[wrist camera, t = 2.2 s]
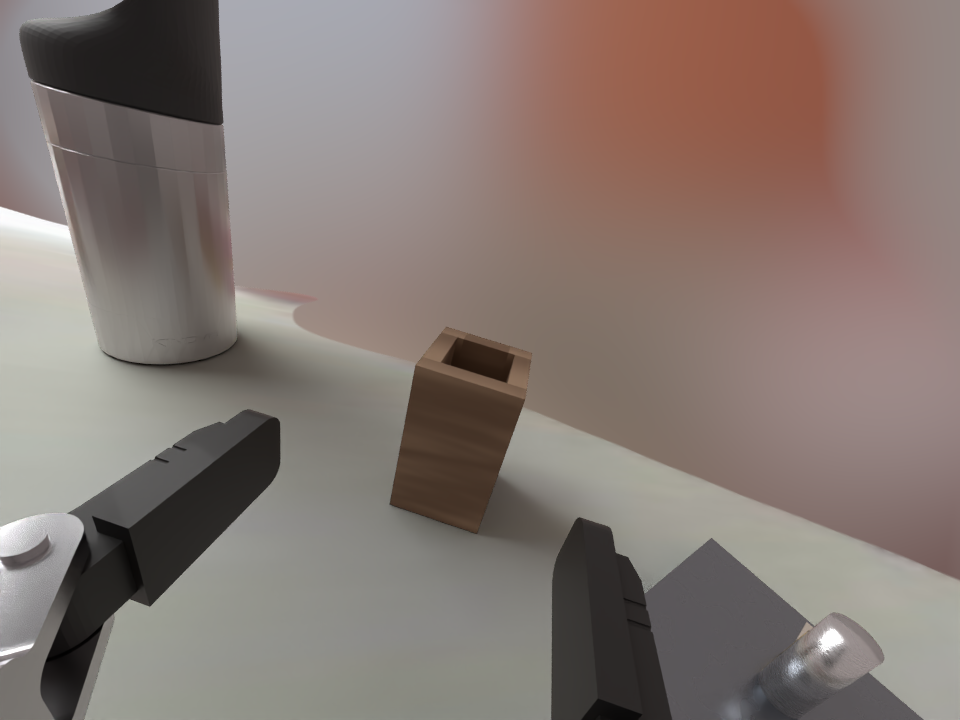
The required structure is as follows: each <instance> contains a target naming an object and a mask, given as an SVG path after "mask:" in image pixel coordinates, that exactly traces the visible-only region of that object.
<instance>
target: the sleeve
mask: <svg viewBox="0 0 960 720" xmlns="http://www.w3.org/2000/svg"><path fill="white" fill-rule="evenodd" d="M531 357H532V353H530V352H527V351H523V350H520V349H517V348H514V347H511V346H507V345H504V344H501V343H498V342H494V341H491V340H488V339H484V338H481V337H478V336H475V335H471V334H468V333H465V332H461V331H458V330H455V329H452V328H449V327H446V328H445V329H444V330H443V331H442V333H441V334H440V335H439V336H438V338H437V339H436V340H435V341H434V343H433V344H432V345H431V347H430V348H429V349H428V350H427V351H426V353H425V354H424V355H423V356H422V358H421V359H420V360H419V361H418V363H417V364H416V366H415V371H414V376H413V382H412V387H411V393H410V398H409V403H408V409H407V414H406V419H405V425H404V430H403V436H402V441H401V446H400V452H399V457H398V463H397V468H396V473H395V479H394V484H393V489H392V495H391V500H390V504H391V505H393V506H396V507H399V508H402V509H405V510H408V511H411V512H414V513H417V514H420V515H423V516H426V517H429V518H432V519H435V520H438V521H441V522H443V523H446V524H449V525H452V526H455V527H458V528H461V529H464V530H467V531H470V532H473V533H476V534H477V532H478V529H479V526H480V523H481V521H482V518H483V515H484V512H485V510H486V507H487V504H488V501H489V498H490V496H491V493H492V490H493V487H494V485H495V482H496V479H497V476H498V473H499V471H500V468H501V465H502V462H503V460H504V457H505V454H506V451H507V448H508V446H509V443H510V440H511V437H512V435H513V432H514V429H515V426H516V423H517V421H518V418H519V415H520V412H521V410H522V407H523V404H524V401H525V397H526V391H527V384H528V377H529V370H530V363H531Z"/></svg>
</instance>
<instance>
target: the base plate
mask: <svg viewBox="0 0 960 720" xmlns="http://www.w3.org/2000/svg"><path fill="white" fill-rule="evenodd" d="M644 595H645V600H646V604H647V606H646V610H648V613H649V618H650V622H651V632H653V636H654V640H655V645H656V649H657V654H658V658H659V663H660V667H661V672H662V676H663V680H664V685H665V689H666V694H667V698H668V703H669V707H670V712H671V716H672V720H923V719H922V718H921V717H920V716H918V715H917V714H916V713H915V712H914V711H913V710H911V709H910V708H909V707H908V706H907V705H906V704H904V703H903V702H902V701H901V700H900V699H899V698H897V697H896V696H895V695H894V694H893V693H892V692H890V691H889V690H888V689H887V688H886V687H885V686H883V685H882V684H881V683H880V682H879V681H878V680H876V679H875V678H874V677H873V676H872V675H871V674H869V673H868V672H869V671H871V670H872V669H874V668H875V667H877V666H878V665H880V664H881V663H883V661H884V655H883V652H882V650H881V648H880V647H879V645H878V644H877V642H876V641H875V640H874V639H873V637H872V636H871V635H870V634H869V633H868V632H867V631H866V630H865V629H863V628H862V627H861V626H860V625H859V624H857V623H856V622H854V621H853V620H851V619H850V618H848V617H846V616H844V615H842V614H839V613H830V614H829V615H828V616H827V617H825V618H824V619H823V620H822V621H821V622H819V623H818V624H817V625H816V626H813V625H812V624H811V623H810V622H809V621H808V620H807V619H805V618H804V617H803V616H802V615H801V614H800V613H798V612H797V611H796V610H795V609H794V608H793V607H791V606H790V605H789V604H788V603H787V602H786V601H784V600H783V599H782V598H781V597H780V596H779V595H777V594H776V593H775V592H774V591H773V590H772V589H770V588H769V587H768V586H767V585H766V584H765V583H763V582H762V581H761V580H760V579H759V578H758V577H756V576H755V575H754V574H753V573H752V572H751V571H749V570H748V569H747V568H746V567H745V566H744V565H742V564H741V563H740V562H739V561H738V560H737V559H735V558H734V557H733V556H732V555H731V554H730V553H728V552H727V551H726V550H725V549H724V548H723V547H721V546H720V545H719V544H718V543H717V542H716V541H714V540H713V539H712V538H711V539H710V540H709V541H707V542H706V543H705V544H704V545H703V546H701V547H700V548H699V549H698V550H697V551H695V552H694V553H693V554H692V555H691V556H689V557H688V558H687V559H686V560H685V561H683V562H682V563H681V564H680V565H679V566H678V567H676V568H675V569H674V570H673V571H672V572H670V573H669V574H668V575H667V576H666V577H664V578H663V579H662V580H661V581H660V582H658V583H657V584H656V585H655V586H654V587H653V588H651V589H650V590H649V591H648V592H647V593H645V594H644Z"/></svg>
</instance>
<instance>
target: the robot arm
mask: <svg viewBox="0 0 960 720" xmlns="http://www.w3.org/2000/svg"><path fill="white" fill-rule="evenodd" d="M19 34H20V43H21V47H22V52H23V56H24V60H25V63H26V67H27V71H28V75H29V77H30V78H31V79H33V80H32V81H31V85H32V89H33V93H34V97H35V101H36V105H37V108H38V112H39V116H40V120H41V124H42V127H43V131H44V135H45V139H46V140H47V141H46V142H47V146H48V149H49V153H50V157H51V160H52V165H53V169H54V173H55V176H56V180H57V184H58V188H59V192H60V196H61V199H62V203H63V207H64V211H65V215H66V219H67V223H68V227H69V231H70V234H71V238H72V242H73V246H74V250H75V254H76V258H77V262H78V265H79V269H80V273H81V277H82V281H83V285H84V289H85V292H86V297H87V301H88V305H89V309H90V313H91V317H92V320H93V324H94V328H95V332H96V336H97V340H98V343H99V346H100V348H101V349H102V350H103V351H104V352H105V353H107V354H108V355H110V356H113V357H115V358H117V359H121V360H125V361H129V362H136V363H144V364H176V363H184V362H192V361H196V360H201V359H205V358H208V357H211V356H214V355H217V354H220V353H222V352H224V351H226V350H227V349H229V348H230V347H231V346H233V345H234V343H235V342H236V340H237V320H236V305H235V287H234V272H233V258H232V245H231V244H232V243H231V229H230V215H229V200H228V186H227V172H226V159H225V145H224V131H223V130H224V129H223V125H222V123H223V111H222V87H221V86H222V84H221V56H220V39H219V8H218V0H123V1H122V2H121V3H119V4H117V5H116V6H114V7H112V8H110V9H108V10H105V11H102V12H100V13H96V14H92V15H87V16H79V17H68V18H43V19H32V20H29V21H26V22H25V23H24V24H22V26H21V28H20V33H19ZM279 466H280V422H279V420H278V419H277V418H275V417H272V416H269V415H266V414H262V413H259V412H256V411H253V410H249V409H248V410H244V411H242V412H241V413H239V414H238V415H236V416H235V417H233V418H232V419H230V420H229V421H228V422H226V423H225V424H224V423H221V422H218V423H215V424H212V425H210V426H207V427H204V428H201V429H199V430H196V431H194V432H192V433H191V434H189V435H188V436H186V437H185V438H183V439H182V440H180V441H178V442H177V443H175V444H174V445H173V447H172V448H168V449H166V450H165V451H163V452H162V453H160V454H159V455H157V456H156V457H155V459H154V460H149V461H148V462H146V463H145V464H143V465H142V466H140V467H139V468H137V469H136V470H134V471H133V472H131V473H130V474H128V475H127V476H125V477H124V478H122V479H121V480H119V481H117V482H116V483H114V484H113V485H111V486H110V487H108V488H107V489H105V490H104V491H102V492H101V493H99V494H98V495H96V496H95V497H93V498H92V499H90V500H88V501H87V502H85V503H84V504H82V505H81V506H79V507H78V508H76V509H74V510H73V511H71V512H69V513H67V514H66V513H46V514H40V515H35V516H31V517H27V518H23V519H20V520H18V521H15V522H12V523H10V524H7V525H5V526H3V527H1V528H0V720H84V718H85V715H86V712H87V709H88V705H89V702H90V699H91V696H92V692H93V689H94V686H95V682H96V679H97V676H98V673H99V669H100V666H101V663H102V660H103V656H104V653H105V650H106V646H107V643H108V640H109V637H110V633H111V630H112V627H113V623H114V613H115V612H116V611H117V610H118V609H119V608H120V607H121V606H122V605H123V604H124V603H125V602H127V601H128V600H129V599H131V600H134V601H136V602H139V603H142V604H144V605H147V606H151V605H152V604H153V603H154V602H155V601H156V600H157V599H158V598H159V597H160V596H161V595H162V594H163V593H164V592H165V591H166V590H167V589H168V588H169V587H170V586H171V585H172V584H173V583H174V582H175V581H176V580H177V579H178V577H179V576H180V575H181V574H182V573H183V572H184V571H185V570H186V569H187V568H188V567H189V566H190V565H191V564H192V563H193V562H194V561H195V560H196V559H197V558H198V557H199V556H200V555H201V554H202V553H203V552H204V551H205V550H206V549H207V548H208V547H209V546H210V545H211V544H212V543H213V542H214V541H215V540H216V539H217V538H218V537H219V536H220V535H221V534H222V533H223V532H224V531H225V530H226V529H227V528H228V527H229V526H230V525H231V524H232V523H233V522H234V521H235V520H236V519H237V518H238V516H239V515H240V514H241V513H242V512H243V511H244V510H245V509H246V508H247V507H248V506H249V505H250V504H251V503H252V502H253V501H254V500H255V499H256V498H257V497H258V496H259V495H260V494H261V493H262V492H263V491H264V490H265V489H266V488H267V487H268V486H269V485H270V484H271V482H272V481H273V479H274V478H275V476H276V474H277V472H278V469H279ZM646 606H647V604H646V600H645V595H644V591H643V586H642V582H641V579H640V578H639V576H638V574H637V572H636V571H635V569H634V567H633V565H632V563H631V562H630V560H629V558H628V557H626V556H623V555H620V554H617V553H616V552H615V546H614V540H613V534H612V531H611V529H610V527H608V526H605V525H602V524H599V523H596V522H592V521H589V520H586V519H583V518H580V517H579V518H577V519H576V521H575V523H574V525H573V527H572V529H571V531H570V533H569V534H568V536H567V538H566V540H565V542H564V544H563V546H562V548H561V550H560V552H559V554H558V556H557V559H556V562H555V566H554V572H553V580H552V705H551V720H672V716H671V712H670V707H669V703H668V698H667V694H666V689H665V685H664V680H663V676H662V672H661V667H660V663H659V658H658V654H657V649H656V645H655V640H654V636H653V632H651V622H650V618H649V613H648V610H646Z"/></svg>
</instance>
